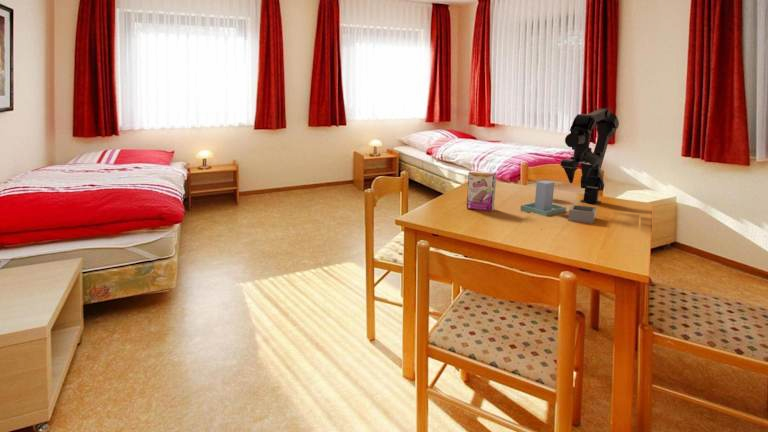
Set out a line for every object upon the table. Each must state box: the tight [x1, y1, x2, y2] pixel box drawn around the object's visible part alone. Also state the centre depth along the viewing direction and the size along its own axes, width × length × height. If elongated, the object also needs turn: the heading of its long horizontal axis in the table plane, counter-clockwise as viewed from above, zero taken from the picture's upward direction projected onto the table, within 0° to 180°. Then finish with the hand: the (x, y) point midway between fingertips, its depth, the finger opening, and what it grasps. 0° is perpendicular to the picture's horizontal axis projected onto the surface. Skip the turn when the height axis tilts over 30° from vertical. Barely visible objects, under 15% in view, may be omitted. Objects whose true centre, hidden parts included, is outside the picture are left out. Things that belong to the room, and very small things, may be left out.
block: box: [534, 180, 555, 211], centre depth 196 cm, size 5×5×12 cm
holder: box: [567, 204, 597, 224], centre depth 184 cm, size 9×9×5 cm
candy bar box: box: [466, 170, 497, 212], centre depth 200 cm, size 11×5×16 cm, turn 65°
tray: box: [520, 201, 567, 217], centre depth 198 cm, size 13×13×2 cm
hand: (577, 181), depth 199 cm, fingers open, 9 cm apart
